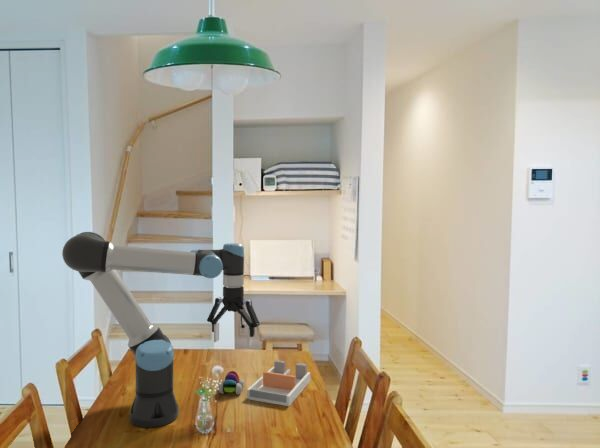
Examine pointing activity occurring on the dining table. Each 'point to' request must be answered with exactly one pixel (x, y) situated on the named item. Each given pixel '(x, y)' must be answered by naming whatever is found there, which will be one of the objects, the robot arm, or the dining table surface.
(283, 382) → the pusher
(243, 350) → the dining table surface
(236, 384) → the multicolored domed toy
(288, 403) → the grey tray
